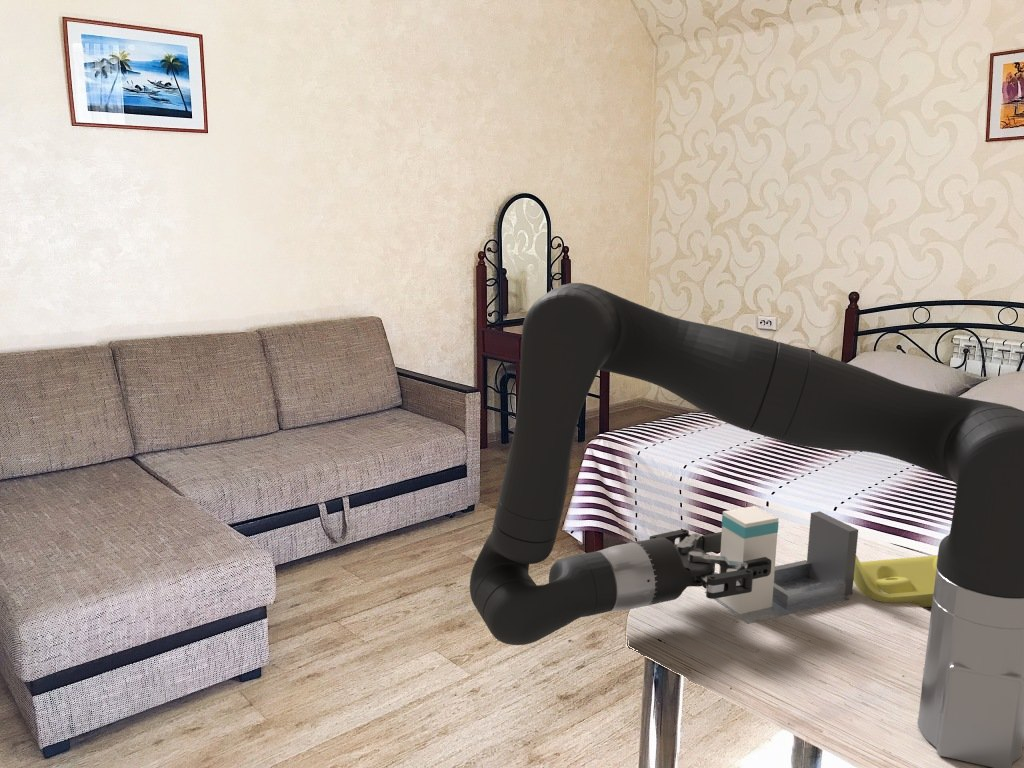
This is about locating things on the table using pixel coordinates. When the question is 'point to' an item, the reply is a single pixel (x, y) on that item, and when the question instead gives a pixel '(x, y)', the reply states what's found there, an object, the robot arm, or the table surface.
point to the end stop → (832, 550)
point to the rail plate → (795, 593)
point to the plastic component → (898, 579)
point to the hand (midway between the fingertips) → (746, 552)
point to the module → (750, 553)
